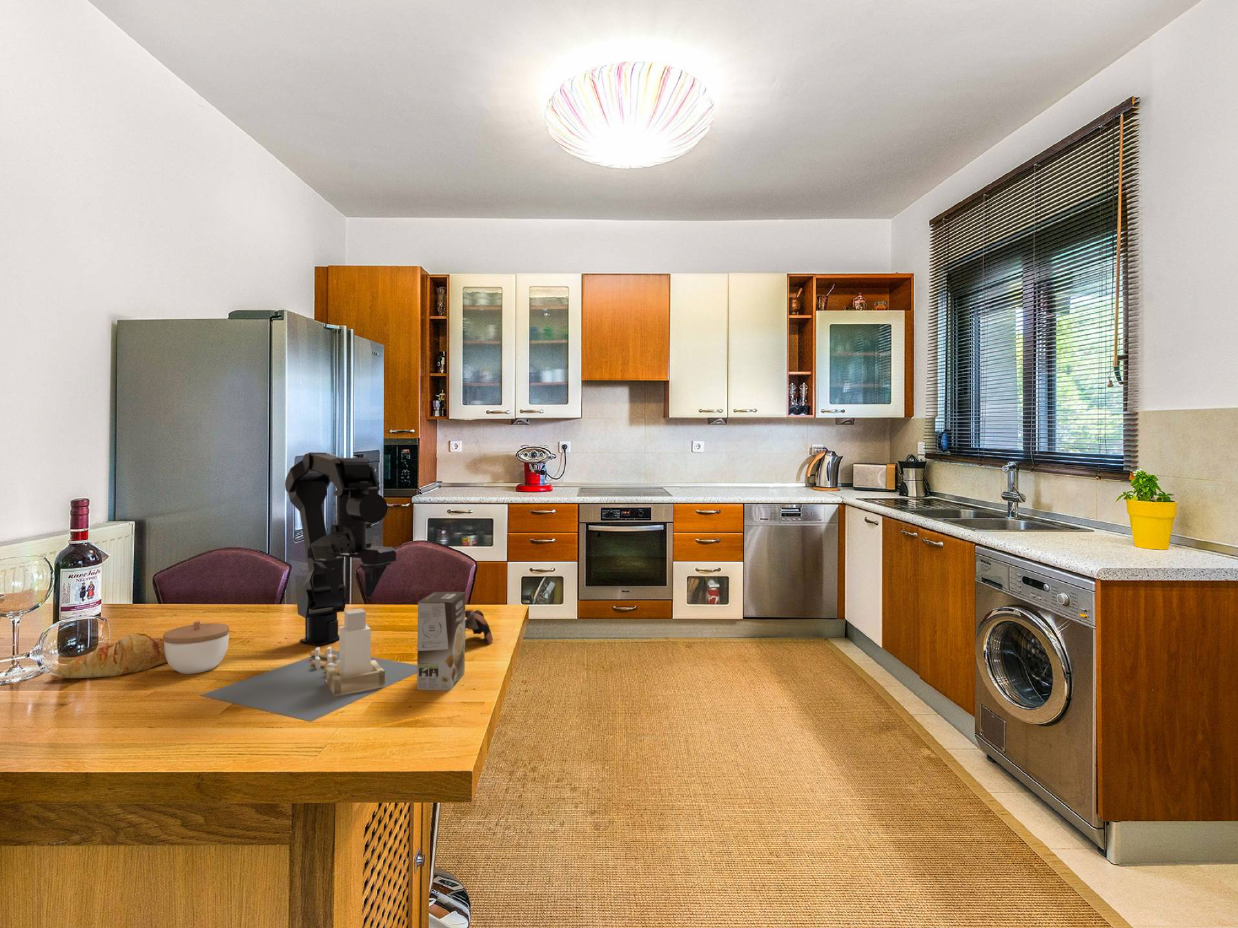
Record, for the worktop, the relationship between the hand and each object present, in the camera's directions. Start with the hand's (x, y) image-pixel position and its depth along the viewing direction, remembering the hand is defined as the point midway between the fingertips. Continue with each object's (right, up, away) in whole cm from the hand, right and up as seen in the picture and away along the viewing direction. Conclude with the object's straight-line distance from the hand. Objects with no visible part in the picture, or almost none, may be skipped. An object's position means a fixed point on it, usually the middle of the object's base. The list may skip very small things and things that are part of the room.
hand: (351, 594), depth 133 cm
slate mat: (0, -13, -14) cm, 19 cm away
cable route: (-2, -13, -6) cm, 14 cm away
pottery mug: (+22, -13, +13) cm, 28 cm away
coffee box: (+22, -14, -14) cm, 29 cm away
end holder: (+7, -13, -16) cm, 22 cm away
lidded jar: (-26, -13, -8) cm, 31 cm away
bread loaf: (-41, -13, -7) cm, 43 cm away
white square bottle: (+7, -13, -16) cm, 22 cm away
